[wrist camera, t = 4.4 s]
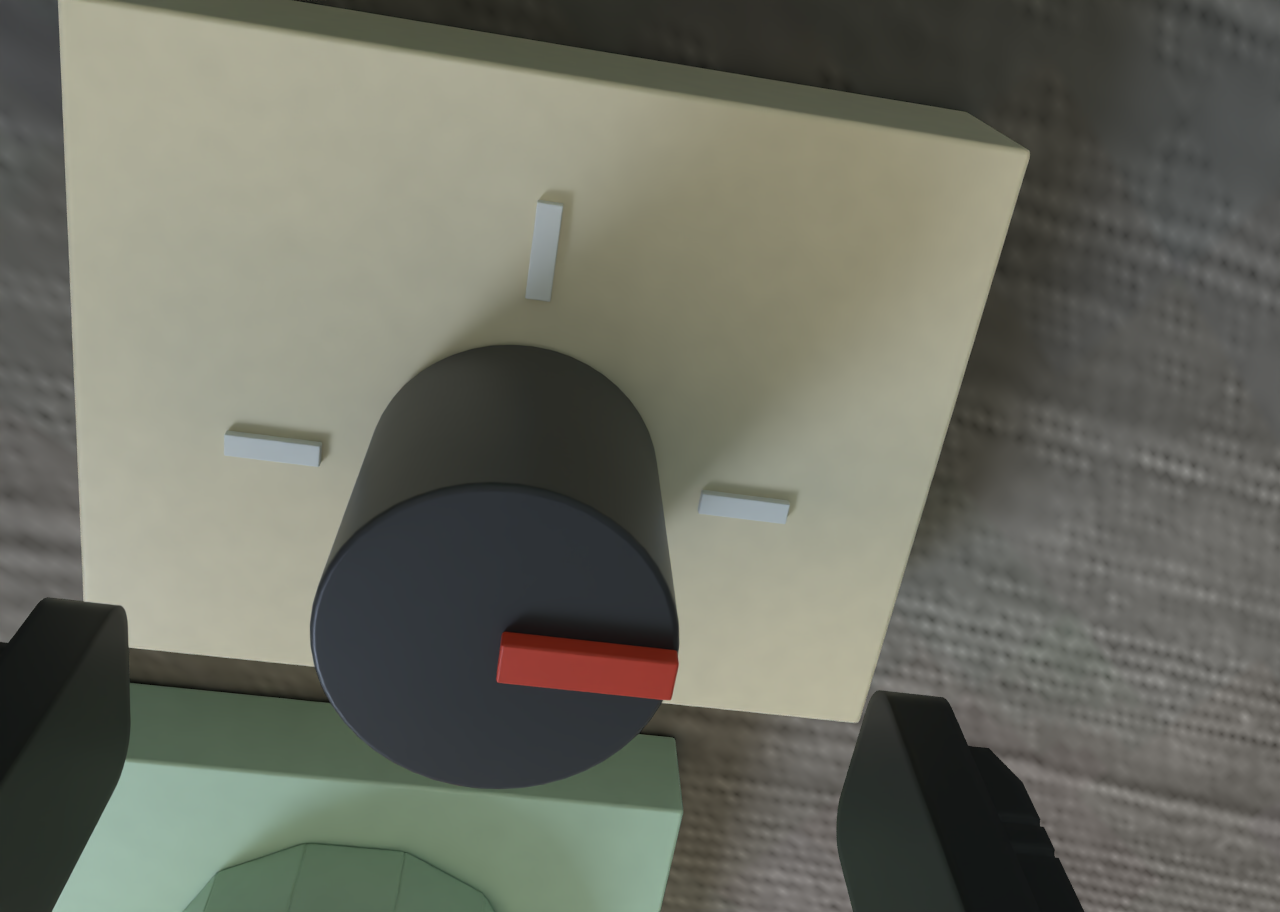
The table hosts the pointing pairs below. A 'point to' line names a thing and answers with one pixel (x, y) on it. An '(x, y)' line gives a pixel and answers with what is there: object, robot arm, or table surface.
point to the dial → (501, 575)
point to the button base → (359, 822)
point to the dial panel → (509, 310)
